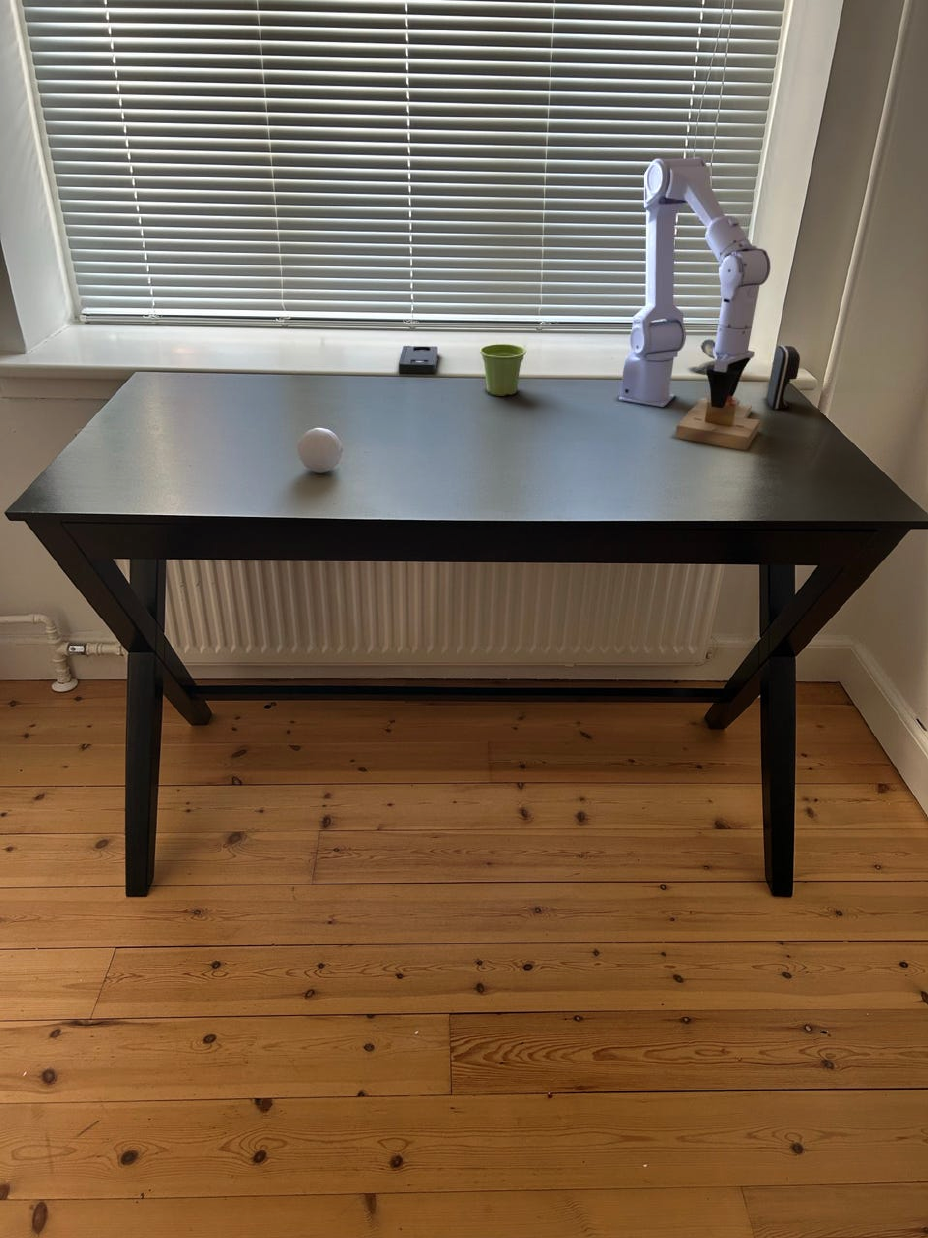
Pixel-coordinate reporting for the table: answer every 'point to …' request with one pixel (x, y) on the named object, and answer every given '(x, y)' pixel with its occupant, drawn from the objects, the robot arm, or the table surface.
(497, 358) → the plant pot
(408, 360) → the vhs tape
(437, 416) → the table surface
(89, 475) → the table surface
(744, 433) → the plate
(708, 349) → the eagle figurine
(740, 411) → the bell block
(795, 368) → the battery charger
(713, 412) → the thumb turn
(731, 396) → the bell button
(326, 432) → the white ball
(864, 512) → the table surface
